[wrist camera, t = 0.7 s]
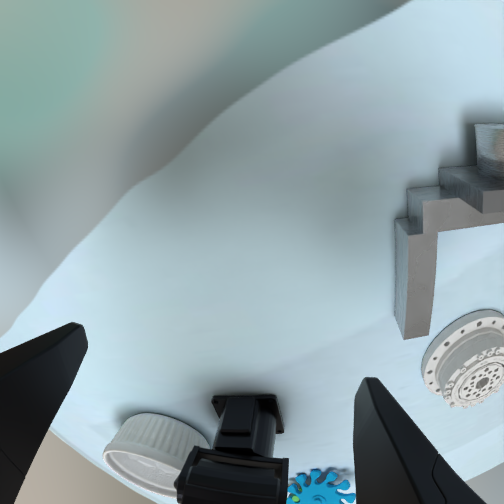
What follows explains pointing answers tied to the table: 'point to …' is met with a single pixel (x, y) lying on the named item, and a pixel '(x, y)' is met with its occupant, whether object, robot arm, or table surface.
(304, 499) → the gear
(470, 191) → the clevis bracket
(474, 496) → the robot arm
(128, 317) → the table surface
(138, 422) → the ramekin
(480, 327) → the mechanical component
